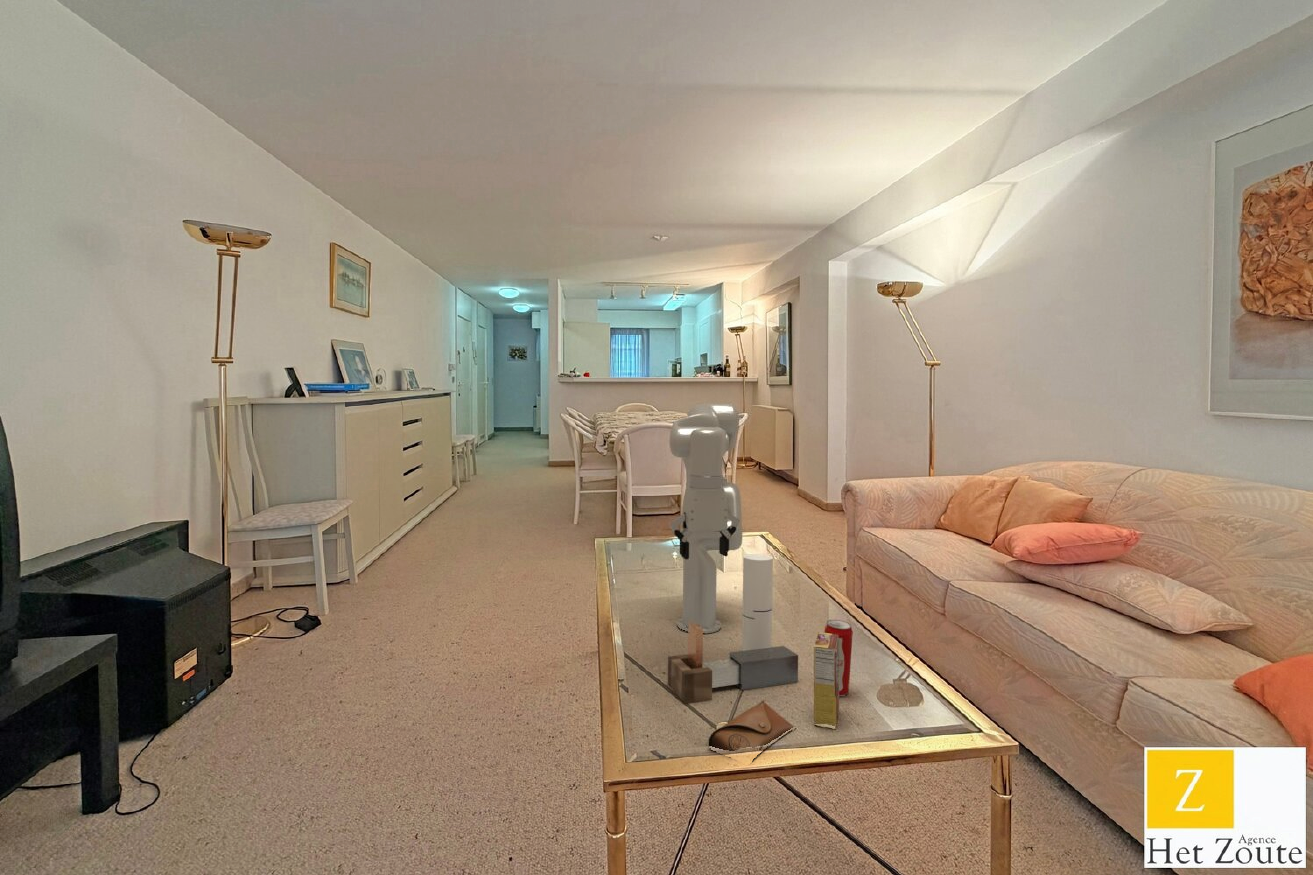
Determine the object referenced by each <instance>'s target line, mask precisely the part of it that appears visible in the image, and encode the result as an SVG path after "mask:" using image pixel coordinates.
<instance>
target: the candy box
mask: <svg viewBox="0 0 1313 875" xmlns="http://www.w3.org/2000/svg"><path fill="white" fill-rule="evenodd" d="M838 713H840V697H839V650H838V635H837V634H830V633H824V632H818V633H817V636H816V640H815V642H814V645H813V722H814V724H828V725H832V726H835V725H836V726H837V724H836V723H838V719H837V717H838V718H839V714H838ZM814 724H813V725H814Z"/></svg>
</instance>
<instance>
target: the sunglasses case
mask: <svg viewBox="0 0 1313 875" xmlns="http://www.w3.org/2000/svg"><path fill="white" fill-rule="evenodd" d="M794 726H795V725H793V724H791V723H790V722H789V721H787V719H785V718H784V717H782V716H781V715H780V714H779V713H778V712H777V711H775V710H774V709H773V708H772V707H771V706H770V705H768V704H767V703H765V700H764V699H763V700H762V701H760V702H759V703H758V704H756V705H755V706H752V707H751V708H749V709H747V710H746V711H743V712H742V713H740V714H739V715H738V716H735V717H734V718H733V719H731V720H730V721H728V722H727V723H725V724H723V725H722V726H721V727H718V728H717V729H716V730H714V731H713V732H712V733H711V734H710V735H709V738H708V747H709V746H712V747H715V748H719V749H723V750H729V751H735V750H738V749H740V748H746V747H752V748H755V747H757V746H762V745H766V744H768V743H770V742H771V741H772V740H774V739H776V738H778V737H779V736H781V735H782V734H783V733H785V732H786V731H788V730H790V729H791V728H793V727H794Z"/></svg>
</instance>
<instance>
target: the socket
mask: <svg viewBox="0 0 1313 875" xmlns="http://www.w3.org/2000/svg"><path fill="white" fill-rule="evenodd" d="M667 657H668V658H667V685H668V686H669V687H670V688H671V690H673V691H674V692H675V694H676V695H677V696H678V697H679V698H680V700H682V702H683V704H691V703H698V702H699V703H700V702H704V701H705V702H706V701H711V700H713V688H712V670H711V669H710V668H709V667H705V668H697V669H690V668H689V667H688V653H685V654H679V655H678V654H677V655H670V656H667Z"/></svg>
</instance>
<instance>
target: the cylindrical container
mask: <svg viewBox="0 0 1313 875" xmlns="http://www.w3.org/2000/svg"><path fill="white" fill-rule="evenodd" d="M773 558H774V557H773V556H771V555H767V554H761V553H760V554H759V553H752V554H745V555H743V562H742V566H743V568H742V569H743V570H742V628H741V629H742V631H741V633H742V634H741V636H742V637H741V645H742V646H741V651H747V650H755V649H763V648H771V647H772V644H773V643H772V642H773V641H772V640H773V638H772V636H773V635H772V632H773V578H774V577H773V576H774V575H773V572H774V570H773V567H774V566H773V565H774V562H773V561H774V559H773Z"/></svg>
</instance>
